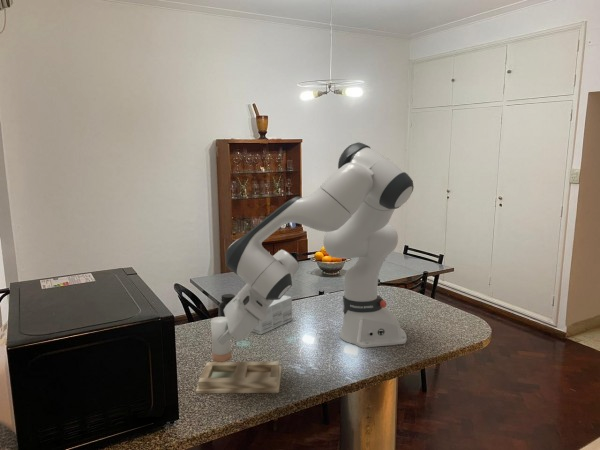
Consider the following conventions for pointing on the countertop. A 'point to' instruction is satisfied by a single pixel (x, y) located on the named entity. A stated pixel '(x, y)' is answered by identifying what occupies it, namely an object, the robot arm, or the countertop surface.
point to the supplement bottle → (224, 303)
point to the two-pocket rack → (240, 377)
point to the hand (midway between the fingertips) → (218, 337)
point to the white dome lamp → (218, 351)
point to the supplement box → (276, 315)
